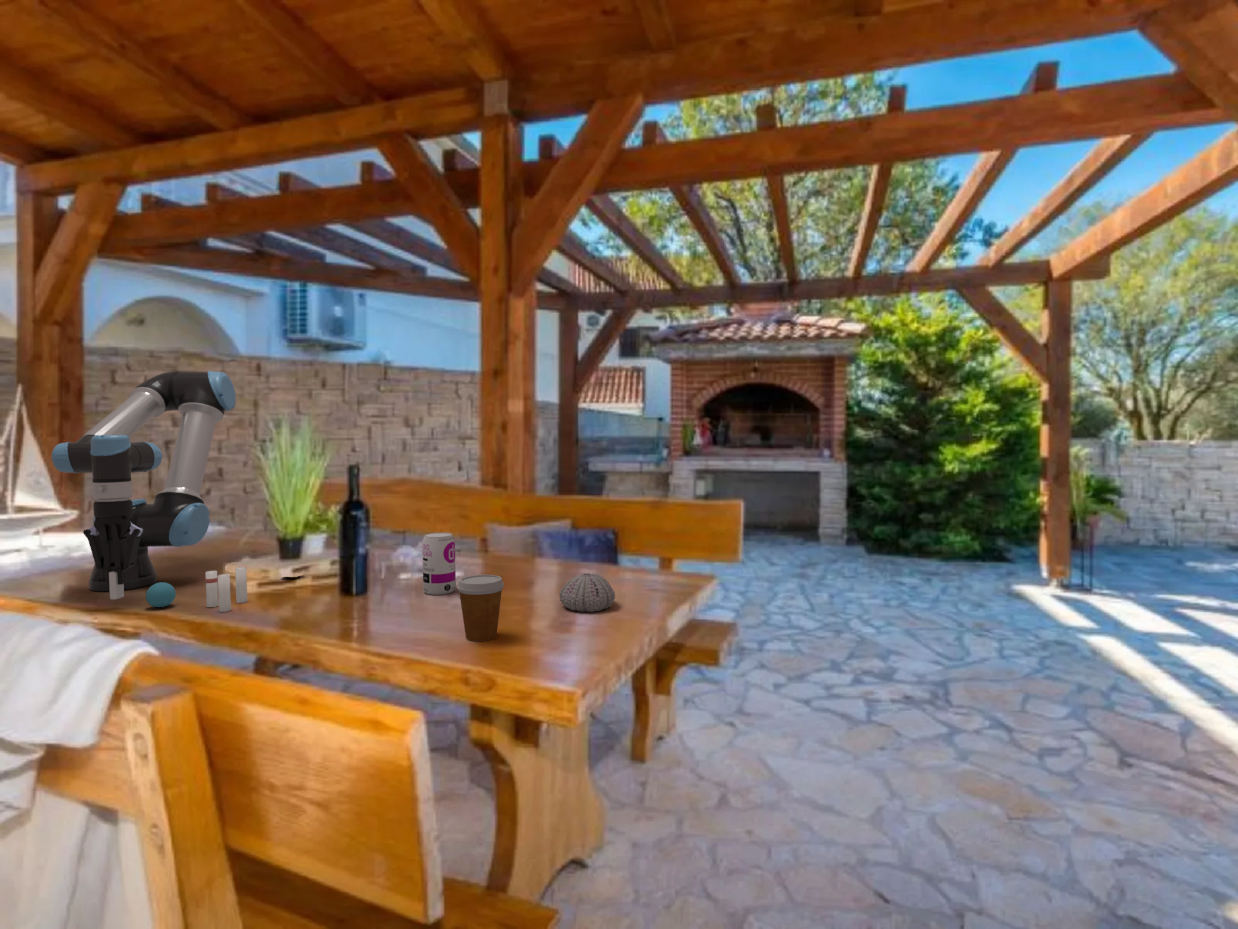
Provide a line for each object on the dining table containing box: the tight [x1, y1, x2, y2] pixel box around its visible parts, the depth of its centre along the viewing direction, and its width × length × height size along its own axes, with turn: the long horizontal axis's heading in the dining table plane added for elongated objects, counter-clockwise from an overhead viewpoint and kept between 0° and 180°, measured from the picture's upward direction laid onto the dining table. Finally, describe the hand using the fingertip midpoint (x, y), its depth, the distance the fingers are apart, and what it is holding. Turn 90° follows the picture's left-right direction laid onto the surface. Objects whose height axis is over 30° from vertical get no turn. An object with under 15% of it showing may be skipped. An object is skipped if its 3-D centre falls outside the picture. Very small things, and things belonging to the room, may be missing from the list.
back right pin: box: [217, 573, 232, 613], centre depth 163 cm, size 2×2×8 cm
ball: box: [145, 581, 177, 609], centre depth 166 cm, size 6×6×6 cm
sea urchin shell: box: [558, 572, 616, 613], centre depth 166 cm, size 13×14×8 cm
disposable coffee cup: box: [456, 574, 505, 642], centre depth 142 cm, size 10×10×12 cm
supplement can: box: [421, 532, 457, 596], centre depth 180 cm, size 8×8×15 cm
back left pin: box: [234, 566, 248, 604], centre depth 171 cm, size 2×2×8 cm
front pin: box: [204, 570, 219, 608], centre depth 167 cm, size 2×2×8 cm
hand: (117, 597), depth 166 cm, fingers closed
